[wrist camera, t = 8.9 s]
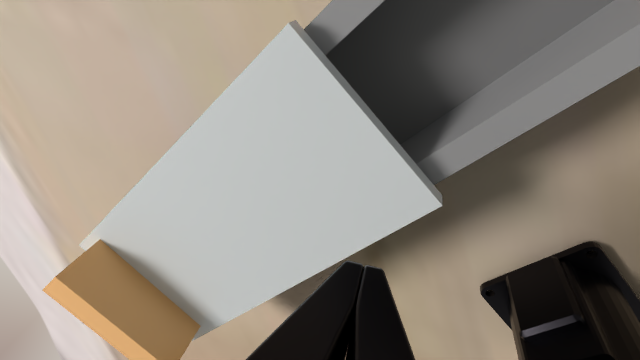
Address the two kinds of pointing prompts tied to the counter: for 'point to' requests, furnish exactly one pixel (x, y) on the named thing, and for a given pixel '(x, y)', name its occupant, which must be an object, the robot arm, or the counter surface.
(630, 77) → the counter surface
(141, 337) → the cover
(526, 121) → the duct
